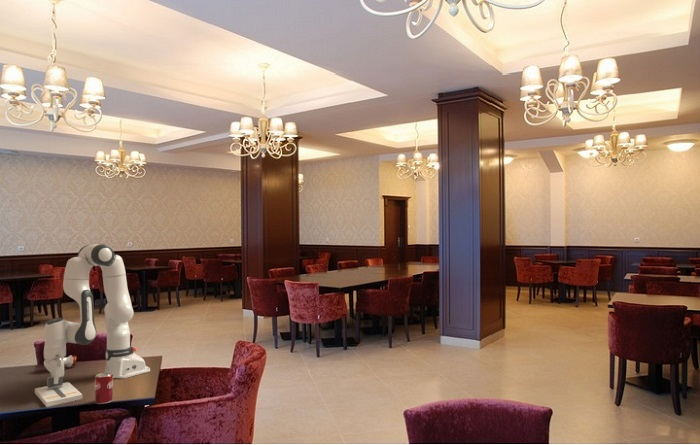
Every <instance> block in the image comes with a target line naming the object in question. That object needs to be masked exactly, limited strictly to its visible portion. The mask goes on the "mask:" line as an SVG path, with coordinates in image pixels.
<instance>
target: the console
mask: <svg viewBox="0 0 700 445" xmlns="http://www.w3.org/2000/svg"><path fill="white" fill-rule="evenodd" d="M34 394H35V395H36V397H37V398H39V400H40V401H41V402H42V404H43V405H44V406H45V407H46V408H48V407H53V406H56V405H61V404H66V403H71V402H76V401H79V400H83V394H82V393H81V392H80V391H79V390H78V389H77V388H76V387H75V386H74V385H72V384H71V383H70V382H69V381H67V382H63V385H62V387H59V388H55V389H49V388H48V387H47V385H46V386H42V387H37V388H34ZM75 400H76V401H75Z"/></svg>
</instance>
